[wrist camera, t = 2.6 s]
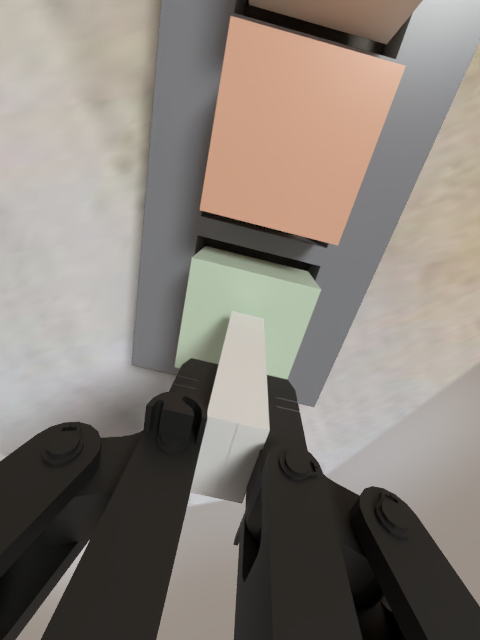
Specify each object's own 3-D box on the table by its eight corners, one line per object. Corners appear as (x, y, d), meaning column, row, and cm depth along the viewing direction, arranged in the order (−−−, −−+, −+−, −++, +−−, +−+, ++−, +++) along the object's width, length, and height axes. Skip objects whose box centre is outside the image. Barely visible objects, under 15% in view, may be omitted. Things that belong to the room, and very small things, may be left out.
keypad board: (216, -332, 9) (202, -506, 7) (561, -217, 10) (654, -344, 8) (145, 346, 21) (131, 364, 18) (307, 385, 21) (314, 407, 19)
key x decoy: (237, 66, 12) (230, 15, 9) (366, 101, 12) (406, 65, 9) (212, 208, 14) (199, 210, 11) (320, 236, 15) (338, 245, 11)
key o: (205, 245, 15) (191, 257, 12) (308, 271, 15) (321, 289, 12) (189, 337, 18) (174, 367, 14) (278, 358, 18) (282, 392, 15)
